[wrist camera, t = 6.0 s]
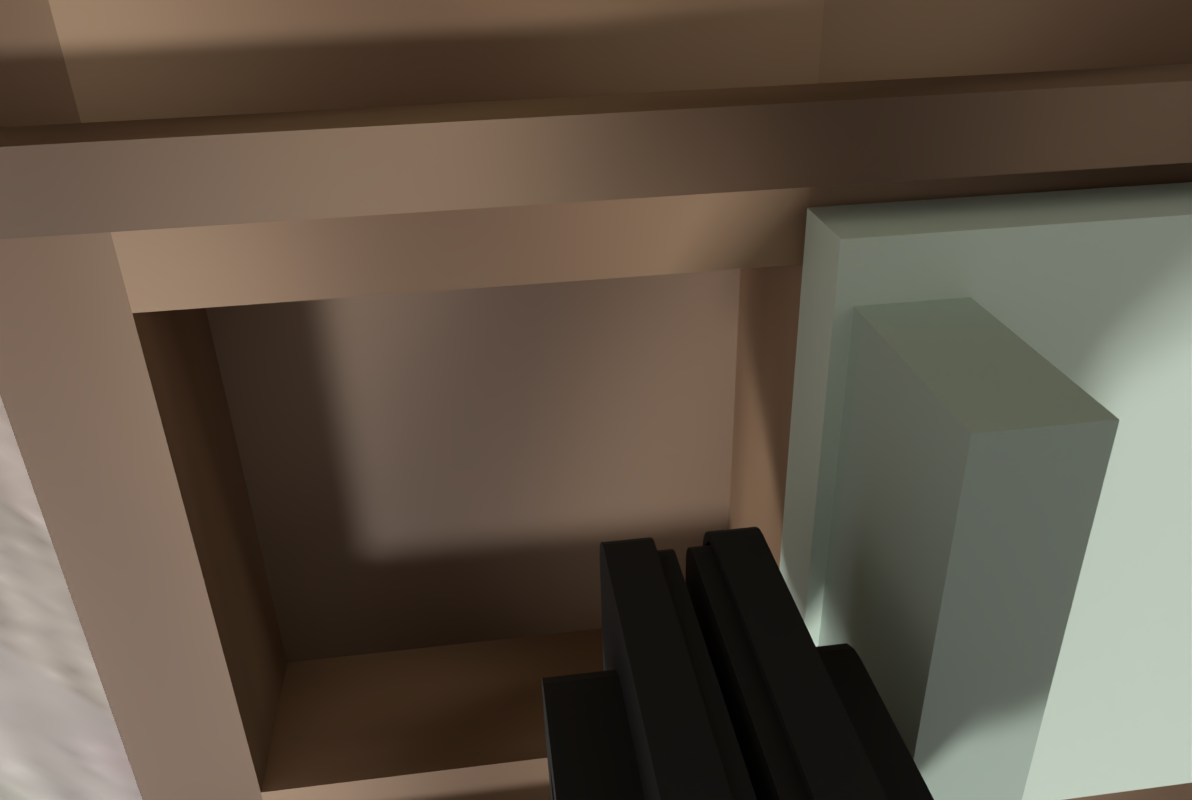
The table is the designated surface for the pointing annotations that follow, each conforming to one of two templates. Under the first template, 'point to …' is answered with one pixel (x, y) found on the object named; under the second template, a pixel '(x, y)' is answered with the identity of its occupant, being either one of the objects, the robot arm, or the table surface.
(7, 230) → the wooden tray
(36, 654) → the table surface
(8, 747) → the table surface
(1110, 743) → the lid
